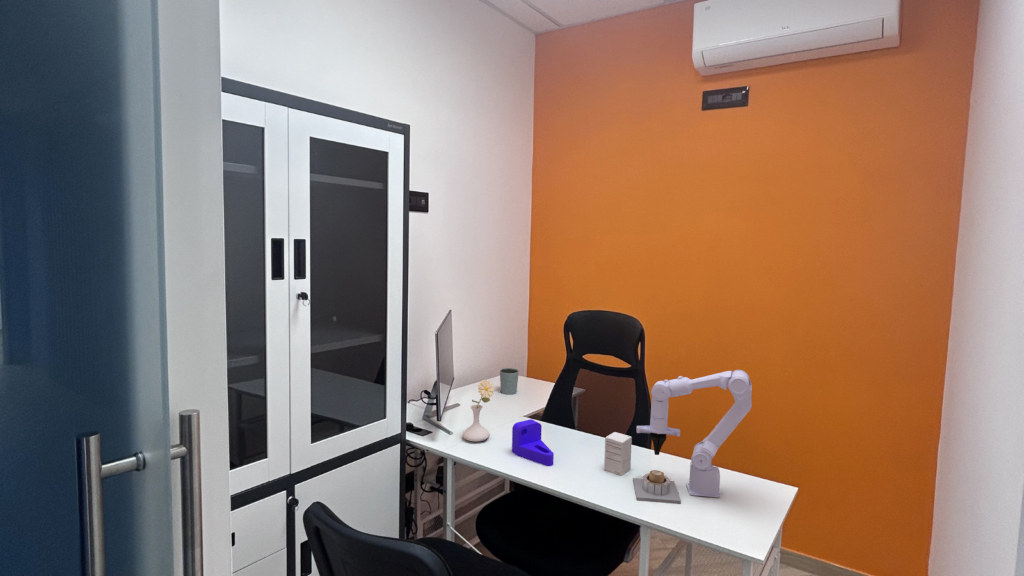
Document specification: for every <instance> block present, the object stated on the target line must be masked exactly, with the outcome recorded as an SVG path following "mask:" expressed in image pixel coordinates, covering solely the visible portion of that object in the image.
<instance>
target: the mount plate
mask: <svg viewBox="0 0 1024 576" xmlns="http://www.w3.org/2000/svg"><path fill="white" fill-rule="evenodd" d="M632 483H633V489H634V492H635V493H634V494H635V497H636V501H642V502H656V503H664V504H665V503H666V504H676V505H677V504H679V505H681V504H682V499H681V498H680V495H679V491H678V488H677V485H676V482H675V480H670V492H669V493H668V494H666V495H653V494H650V493H648V492H646V491H644V490H643V487H642V485H643V478H638V477H637V478H636V477H633V478H632Z"/></svg>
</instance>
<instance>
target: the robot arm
mask: <svg viewBox="0 0 1024 576" xmlns="http://www.w3.org/2000/svg"><path fill="white" fill-rule="evenodd" d="M713 387H719V388H721V389H723V390H724V391H727V388H728V390H729V392H730V393H731V395H732V396H733V399H734V403H733V404H732V406H731V407H730V408H729V410H727V412H726V413H725V414H724V415H723V417H722V418H721V419H720V421H719V422H718V423H717V424H716V425H715V427H713V429H712V430H711V432H710V433H709V434H708V435H707V436H706V437H704V438H703V440H702V441H700V442H698V443H696V444H695V445H694V447H693V451H692V452H693V453H692V455H691V457H690V466H689V483H687V482H686V483H685V486H686V488H687V491H688V493H689V496H695V497H708V498H720V485H721V473H720V468H719V467H718V466H714V465H713V463H712V460H713V458H714V457H715V455H716V454H717V452H718V449H720V447H721V446H722V445H723V444H724V442H725V441H726V440H727V439H728V437H729V436H730V435H731V433H733V431H734V430H735V429H736V428H737V426H738V425H739V424H740V423H741V421H743V419H744V418H745V417H746V415H747V414H749V412H750V411H751V409H752V407H753V405H752V404H753V403H752V397H753V396H752V390H753V389H752V382H751V379H750V377H749V374H748V373H747V372H746V371H744V370H742V369H736V370H733V371H732V370H726V371H722V372H717V373H713V374H709V375H706V376H705V375H704V376H702V377H697V378H694V379H691V378H689V377H687V376H684V377H683V376H682V375H679V376H678V377H677V378H674V379H669V380H668V378H667V379H664V380H658V381H657V382H655V383H654V385H653V386H652V387H651V390H650V391H651V393H650V394H651V396H652V398H651V408H650V419H649V420H650V421H649V422H650V423H649V425H636V433H637V434H641V433H642V434H649V435H650V438H651V442H652V444H653V445H652V446H653V450H654V455H655V456H659V455H660V453H661V449H662V447H663V445H664V444H665V442H666V441H667V436H676V437H681V429H679V428H674V427H669V426H668V421H669V420H668V419H669V406H670V405H669V398H674V397H680V396H686V395H690V394H691V393H693V390H698V389H699V390H700V389H705V388H713Z"/></svg>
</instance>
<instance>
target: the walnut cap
mask: <svg viewBox="0 0 1024 576" xmlns="http://www.w3.org/2000/svg"><path fill="white" fill-rule="evenodd" d="M648 474H649V481H650V482H653V483H658V484H661V483H664V475H665V473H664V471H661V470H658V469H657V470H656V469H653V470H650V471H649V473H648Z"/></svg>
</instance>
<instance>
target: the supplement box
mask: <svg viewBox="0 0 1024 576" xmlns="http://www.w3.org/2000/svg"><path fill="white" fill-rule="evenodd" d="M632 439H633V437H632V436H630V435H627V434H623V433H620V432H616V431H614V432H612V433H610V434H609V435H607V436H606V437H605V440H604V459H603V460H604V466H603V470H604V471H607V472H609V473H612V474H615V475H618V476H623V475H624V474H626V473H627V472H628V471H630V470H631V467H632V464H631V463H632V462H631V461H632V443H633V441H632Z"/></svg>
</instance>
